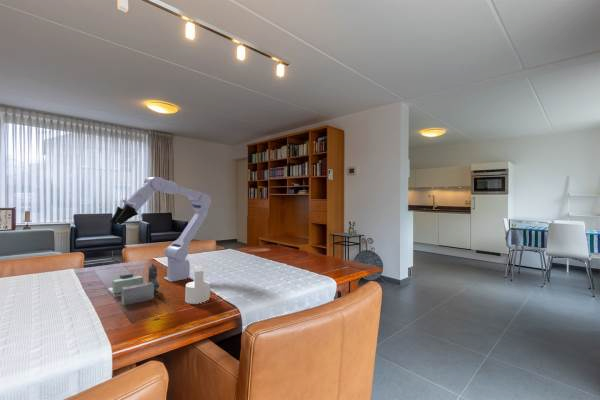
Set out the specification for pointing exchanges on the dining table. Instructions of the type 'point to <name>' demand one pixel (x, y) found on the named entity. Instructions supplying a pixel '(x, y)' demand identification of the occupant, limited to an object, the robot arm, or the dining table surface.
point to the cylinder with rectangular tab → (197, 288)
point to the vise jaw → (126, 282)
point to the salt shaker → (153, 278)
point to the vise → (135, 293)
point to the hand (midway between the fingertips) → (115, 223)
